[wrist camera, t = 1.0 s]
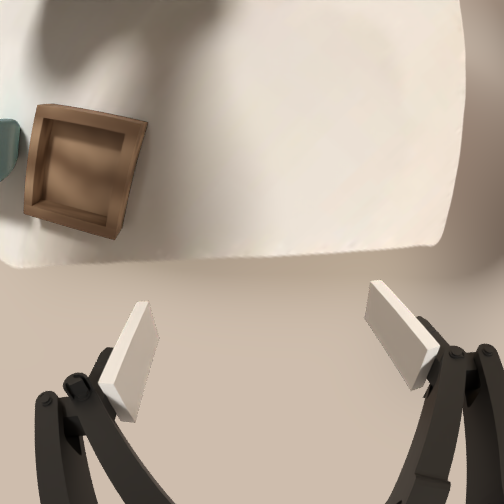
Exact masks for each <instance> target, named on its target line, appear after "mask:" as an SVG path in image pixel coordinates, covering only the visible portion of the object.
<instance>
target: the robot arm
mask: <svg viewBox="0 0 504 504" xmlns="http://www.w3.org/2000/svg"><path fill="white" fill-rule="evenodd" d="M365 320H366V322H367V323H368V325H369V326H370V328H371V329H372V331H373V332H374V333H375V335H376V337H377V338H378V340H379V341H380V343H381V344H382V346H383V347H384V349H385V350H386V352H387V354H388V355H389V356H390V358H391V360H392V361H393V363H394V364H395V366H396V368H397V369H398V371H399V373H400V374H401V376H402V377H403V379H404V381H405V382H406V384H407V386H408V387H409V389H410V390H411V391H412V390H415V389H418V388H421V387H423V385H424V383H425V381H426V379H427V380H428V381H429V383H430V385H429V387H428V389H427V391H426V393H425V395H424V398H425V401H424V405H423V409H422V412H421V416H420V419H419V423H418V426H417V429H416V432H415V435H414V438H413V441H412V444H411V447H410V450H409V452H408V455H407V458H406V460H405V463H404V465H403V468H402V470H401V473H400V475H399V478H398V480H397V482H396V484H395V487H394V489H393V491H392V493H391V495H390V497H389V499H388V501H387V502H386V503H385V504H445V503H446V500H447V497H448V494H449V491H450V486H451V484H450V482H449V481H448V475H449V471H450V468H451V464H452V460H453V455H454V452H455V447H456V442H457V437H458V432H459V427H460V421H461V414H462V408H463V416H464V424H465V437H466V455H467V489H466V504H504V370H503V367H502V363H501V361H500V358H499V355H498V352H497V350H496V349H495V348H494V347H493V346H491V345H489V344H481V345H479V347H478V349H477V351H476V352H470V353H466V352H465V351H464V350H463V349H462V348H460V347H458V346H450V345H449V344H448V343H447V342H446V341H445V340H444V339H443V338H442V337H441V335H440V334H439V333H438V332H436V330H435V328H434V327H432V325H431V324H430V323H429V322H428V321H427V320H426V319H424V318H422V317H421V316H418V317H415V316H414V315H413V314H412V313H411V312H410V310H409V309H408V308H407V307H406V306H405V305H404V304H403V303H402V302H401V301H400V300H399V298H398V297H397V296H396V295H395V294H394V293H393V292H392V291H391V290H390V289H389V288H388V287H387V286H386V285H385V284H384V282H383V281H382V280H376V281H370V287H369V294H368V300H367V307H366V313H365ZM158 341H159V335H158V332H157V329H156V325H155V322H154V318H153V315H152V311H151V307H150V303H149V301H140V302H139V301H138V302H137V303H136V304H135V307H134V309H133V310H132V312H131V314H130V316H129V318H128V320H127V322H126V324H125V326H124V328H123V330H122V332H121V334H120V336H119V338H118V340H117V342H116V344H115V347H114V348H110V347H107V348H106V349H105V350H103V351H102V352H101V353H100V355H99V357H98V359H97V362H96V363H95V365H94V367H93V369H92V371H91V374H90V375H89V377H87V375H85V374H83V373H74V374H72V375H70V376H68V377H67V378H66V379H65V381H64V383H63V388H64V390H65V392H66V393H67V395H68V396H69V397H62V398H58V396H57V395H56V394H55V393H54V392H52V391H46V392H43V393H41V394H40V395H39V396H38V398H37V399H36V403H35V456H36V470H37V480H38V489H39V496H40V503H41V504H98V502H97V499H96V495H95V492H94V488H93V484H92V480H91V476H90V471H89V467H88V462H87V457H86V452H85V447H84V441H83V436H84V435H86V436H87V438H88V440H89V442H90V444H91V446H92V448H93V450H94V452H95V454H96V456H97V458H98V460H99V461H100V463H101V465H102V467H103V469H104V470H105V472H106V474H107V476H108V477H109V479H110V481H111V482H112V484H113V485H114V487H115V489H116V490H117V492H118V493H119V495H120V496H121V498H122V500H123V501H124V502H125V504H175V503H174V502H173V501H172V499H170V497H169V496H168V495H167V494H166V493H165V491H164V490H163V489H162V488H161V486H160V485H159V484H158V483H157V481H156V480H155V479H154V478H153V476H152V475H151V474H150V472H149V471H148V470H147V468H146V467H145V466H144V465H143V463H142V462H141V460H140V459H139V457H138V456H137V454H136V453H135V452H134V450H133V449H132V447H131V446H130V444H129V443H128V441H127V440H126V438H125V437H124V435H123V433H122V432H121V430H120V429H119V427H118V425H117V424H116V422H115V417H116V414H117V416H118V417H119V419H120V420H121V421H124V422H134V423H135V422H136V418H137V414H138V410H139V407H140V403H141V399H142V396H143V392H144V388H145V385H146V381H147V378H148V374H149V371H150V367H151V364H152V361H153V357H154V354H155V350H156V347H157V344H158Z"/></svg>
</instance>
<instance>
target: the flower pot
mask: <svg viewBox="0 0 504 504" xmlns="http://www.w3.org/2000/svg"><path fill="white" fill-rule="evenodd" d="M19 134H20V125H19V124H18V122H17V121H15V120H13V119H0V182H1V181H2V180H3V179H4V178H5V177H7V176H8V175H9V174H10V172H11V171H12V170H13V168H14V166H15V163H16V161H17V158H18V145H19Z"/></svg>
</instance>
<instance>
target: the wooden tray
mask: <svg viewBox="0 0 504 504" xmlns="http://www.w3.org/2000/svg"><path fill="white" fill-rule="evenodd" d="M147 125H148V122H144V121H140V120H136V119H132V118H127V117H123V116H118V115H114V114H109V113H104V112H99V111H94V110H88V109H83V108H77V107H71V106H64V105H58V104H42V105H37V109H36V114H35V118H34V123H33V128H32V134H31V140H30V146H29V153H28V160H27V169H26V179H25V193H24V214H26V215H30V216H33V217H36V218H40V219H43V220H46V221H50V222H53V223H56V224H60V225H63V226H67V227H70V228H74V229H77V230H81V231H84V232H88V233H91V234H95V235H98V236H102V237H105V238H109V239H113V240H115V239H116V237H117V235H118V234H119V232H120V230H121V229H122V226H123V221H124V216H125V211H126V206H127V201H128V197H129V192H130V188H131V183H132V179H133V175H134V171H135V167H136V163H137V159H138V156H139V152H140V149H141V145H142V142H143V138H144V135H145V131H146V128H147Z"/></svg>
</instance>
